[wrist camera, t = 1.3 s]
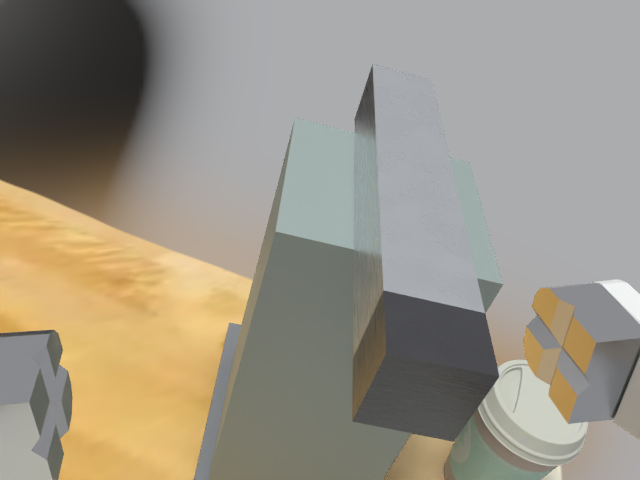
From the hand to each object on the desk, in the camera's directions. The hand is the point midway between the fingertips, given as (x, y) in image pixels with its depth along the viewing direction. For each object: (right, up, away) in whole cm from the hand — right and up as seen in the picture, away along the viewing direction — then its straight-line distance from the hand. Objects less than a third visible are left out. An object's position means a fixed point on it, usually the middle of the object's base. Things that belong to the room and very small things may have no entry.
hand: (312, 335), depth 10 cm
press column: (-2, -14, +42) cm, 45 cm away
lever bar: (+4, +2, +22) cm, 22 cm away
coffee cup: (+14, -19, +42) cm, 49 cm away
